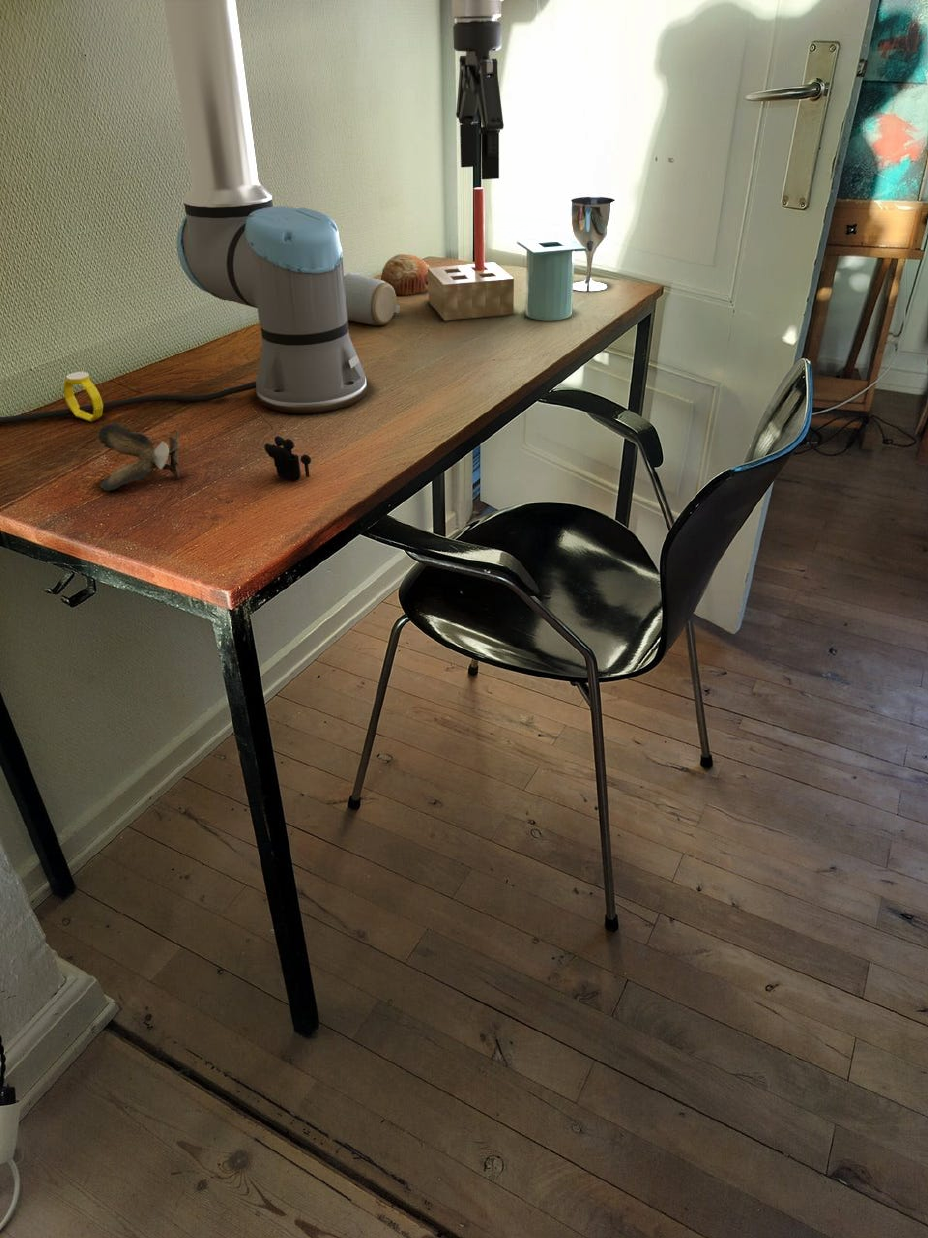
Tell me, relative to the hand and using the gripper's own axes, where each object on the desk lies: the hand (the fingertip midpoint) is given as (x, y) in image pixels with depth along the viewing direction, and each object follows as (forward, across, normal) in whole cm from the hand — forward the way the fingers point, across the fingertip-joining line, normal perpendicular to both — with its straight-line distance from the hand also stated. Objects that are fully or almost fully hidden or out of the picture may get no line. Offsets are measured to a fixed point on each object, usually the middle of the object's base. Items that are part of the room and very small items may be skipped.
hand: (479, 172), depth 151 cm
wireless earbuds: (+21, -65, +41) cm, 79 cm away
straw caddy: (+21, -3, +3) cm, 22 cm away
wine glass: (+22, +4, -22) cm, 31 cm away
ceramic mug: (+21, -5, +21) cm, 30 cm away
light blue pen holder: (+21, -11, -9) cm, 26 cm away
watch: (+21, -38, +65) cm, 78 cm away
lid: (+10, -11, -9) cm, 18 cm away
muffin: (+22, +14, +11) cm, 28 cm away
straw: (+21, 0, 0) cm, 21 cm away
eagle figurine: (+21, -60, +57) cm, 85 cm away
